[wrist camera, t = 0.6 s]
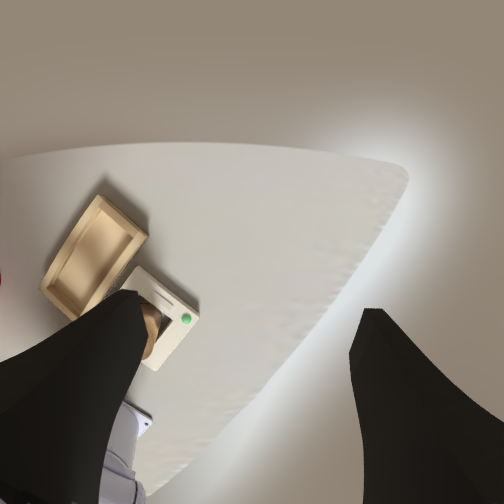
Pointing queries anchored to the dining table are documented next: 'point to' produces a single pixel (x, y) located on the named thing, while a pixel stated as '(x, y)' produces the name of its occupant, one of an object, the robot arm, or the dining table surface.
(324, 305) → the dining table surface
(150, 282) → the white square frame
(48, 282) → the wooden trough
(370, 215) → the dining table surface
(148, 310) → the battery cell
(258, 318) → the dining table surface
